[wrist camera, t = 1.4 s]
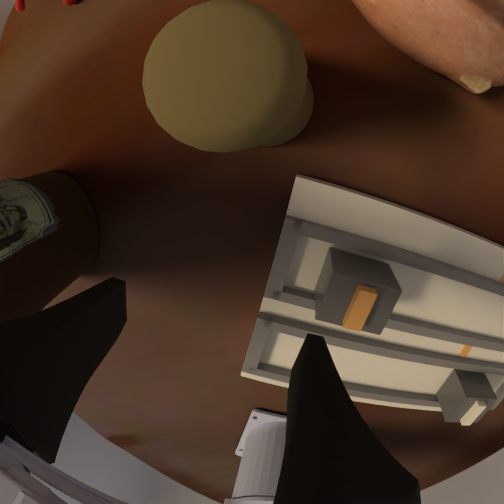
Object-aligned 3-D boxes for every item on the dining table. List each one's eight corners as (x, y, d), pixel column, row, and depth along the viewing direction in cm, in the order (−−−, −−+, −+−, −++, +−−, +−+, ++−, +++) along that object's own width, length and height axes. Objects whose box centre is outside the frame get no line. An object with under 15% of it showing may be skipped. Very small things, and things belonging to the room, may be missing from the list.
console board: (480, 405, 23) (486, 418, 22) (243, 365, 25) (238, 382, 23) (562, 275, 17) (574, 285, 15) (296, 173, 19) (295, 178, 17)
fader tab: (371, 304, 19) (381, 341, 16) (314, 289, 20) (314, 325, 16) (388, 263, 18) (405, 296, 15) (329, 246, 18) (333, 277, 15)
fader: (466, 396, 21) (478, 427, 18) (435, 393, 22) (446, 427, 18) (484, 373, 20) (499, 404, 16) (454, 368, 20) (468, 402, 17)
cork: (311, 50, 15) (313, -37, 5) (316, 146, 18) (329, 170, 8) (211, 58, 16) (112, 1, 6) (217, 150, 19) (120, 181, 9)
